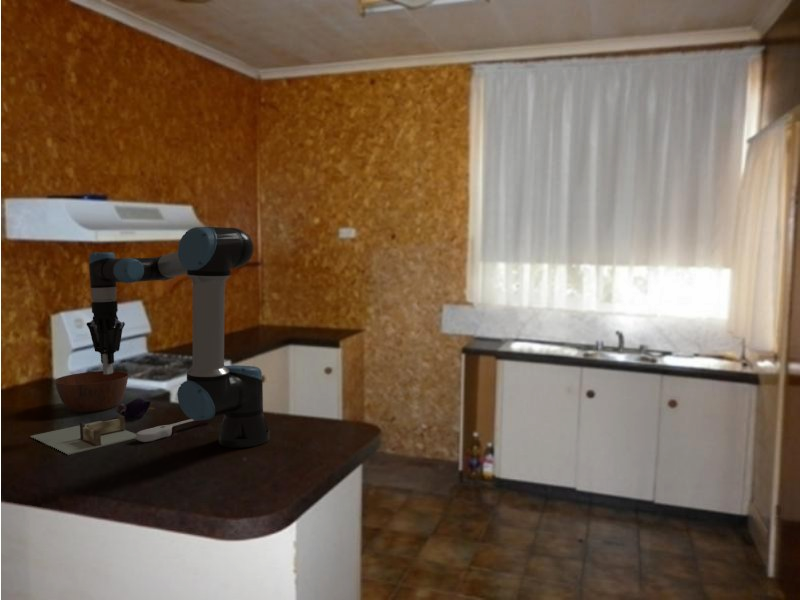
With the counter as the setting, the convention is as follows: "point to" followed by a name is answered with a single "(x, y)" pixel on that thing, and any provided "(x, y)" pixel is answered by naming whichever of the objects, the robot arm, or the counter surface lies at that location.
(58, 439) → the card
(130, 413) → the toy
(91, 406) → the bowl
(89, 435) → the fence fixed
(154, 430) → the spatula
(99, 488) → the counter surface
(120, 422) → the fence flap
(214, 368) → the robot arm
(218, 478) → the counter surface
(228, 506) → the counter surface
